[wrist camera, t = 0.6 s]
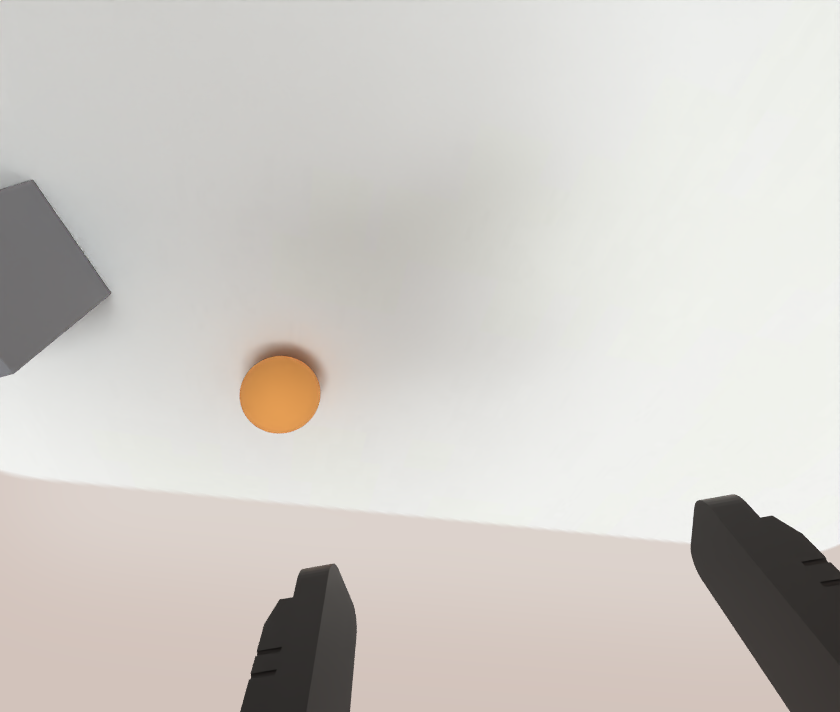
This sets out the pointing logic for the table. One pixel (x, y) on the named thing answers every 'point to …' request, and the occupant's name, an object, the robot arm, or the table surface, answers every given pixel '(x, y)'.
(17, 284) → the grey block
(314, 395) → the ball
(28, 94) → the table surface
